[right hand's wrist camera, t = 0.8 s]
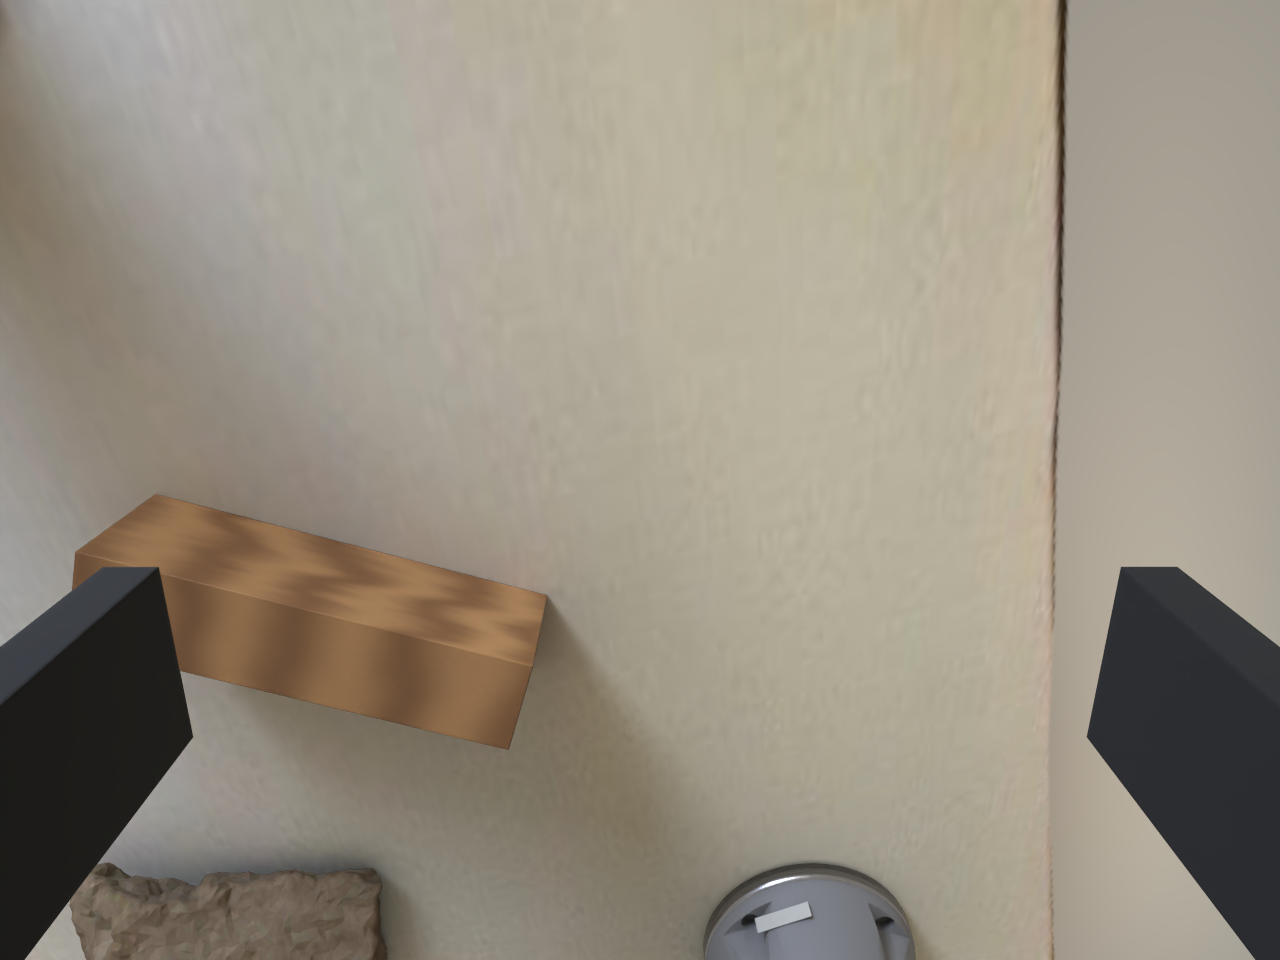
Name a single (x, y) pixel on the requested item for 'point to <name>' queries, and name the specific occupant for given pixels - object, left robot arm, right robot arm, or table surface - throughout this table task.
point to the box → (332, 619)
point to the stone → (230, 916)
